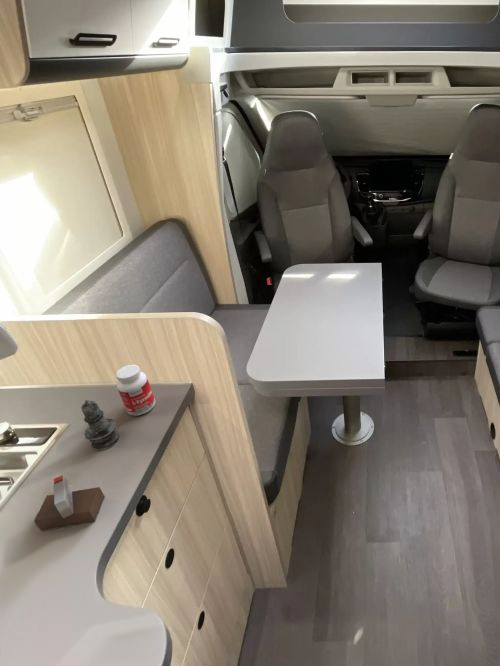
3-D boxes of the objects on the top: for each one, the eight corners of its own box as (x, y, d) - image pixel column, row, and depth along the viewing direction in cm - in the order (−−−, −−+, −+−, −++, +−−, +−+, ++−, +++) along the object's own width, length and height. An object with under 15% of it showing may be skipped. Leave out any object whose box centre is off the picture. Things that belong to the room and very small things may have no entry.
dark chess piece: (104, 427, 99) (85, 388, 93) (127, 431, 98) (109, 391, 92) (83, 449, 94) (62, 408, 88) (107, 453, 93) (87, 412, 87)
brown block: (40, 530, 79) (33, 521, 77) (53, 505, 83) (46, 495, 81) (95, 521, 80) (89, 511, 78) (104, 496, 84) (99, 486, 83)
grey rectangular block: (73, 513, 78) (64, 499, 76) (63, 518, 77) (53, 503, 75) (71, 488, 82) (63, 473, 80) (61, 493, 82) (52, 478, 79)
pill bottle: (137, 420, 100) (122, 384, 95) (121, 410, 103) (106, 374, 98) (161, 403, 105) (148, 367, 99) (146, 394, 108) (132, 358, 102)
